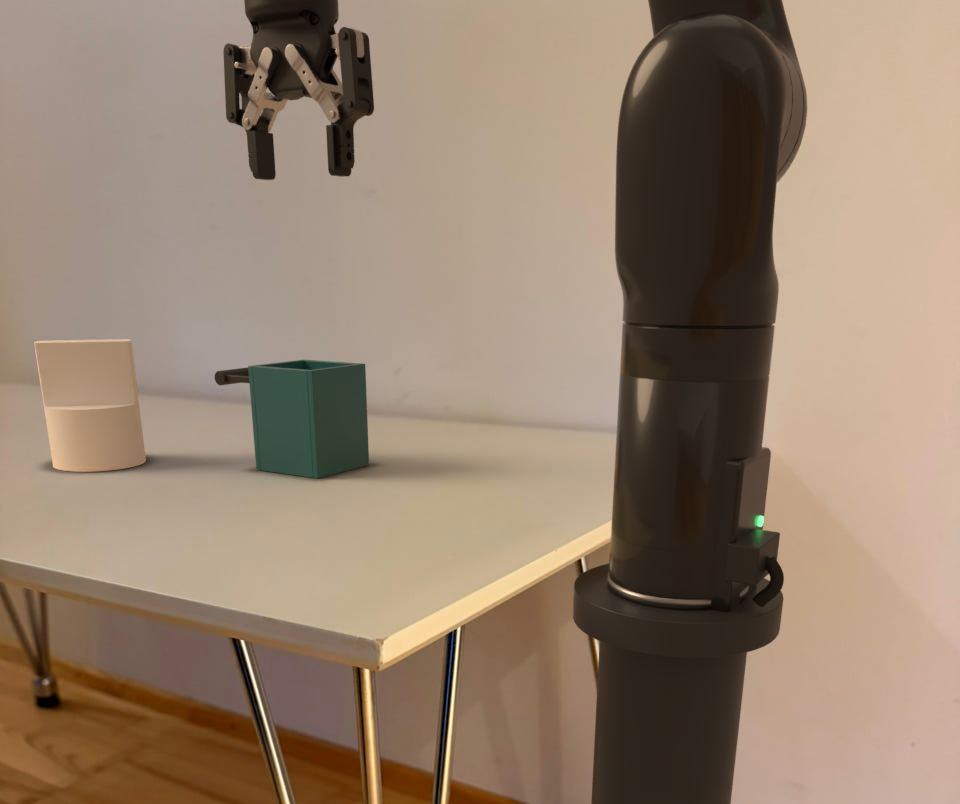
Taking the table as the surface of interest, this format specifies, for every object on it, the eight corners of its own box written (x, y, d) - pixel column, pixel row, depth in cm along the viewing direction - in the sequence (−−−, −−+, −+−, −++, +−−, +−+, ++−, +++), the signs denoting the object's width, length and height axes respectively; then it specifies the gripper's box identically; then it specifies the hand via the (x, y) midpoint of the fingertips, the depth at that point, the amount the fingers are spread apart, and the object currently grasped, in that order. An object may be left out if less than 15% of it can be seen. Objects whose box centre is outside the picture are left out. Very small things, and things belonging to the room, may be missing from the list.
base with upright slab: (147, 453, 106) (133, 337, 102) (144, 469, 98) (129, 343, 93) (58, 457, 104) (40, 338, 99) (47, 473, 96) (27, 345, 91)
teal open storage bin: (365, 363, 97) (263, 356, 103) (311, 370, 90) (206, 362, 97) (369, 465, 100) (270, 452, 107) (317, 478, 94) (216, 464, 100)
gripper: (190, -44, 79) (209, 178, 85) (327, -73, 72) (338, 171, 78) (256, -23, 85) (270, 183, 91) (388, -48, 78) (394, 177, 84)
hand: (301, 177), depth 84 cm, fingers open, 8 cm apart
